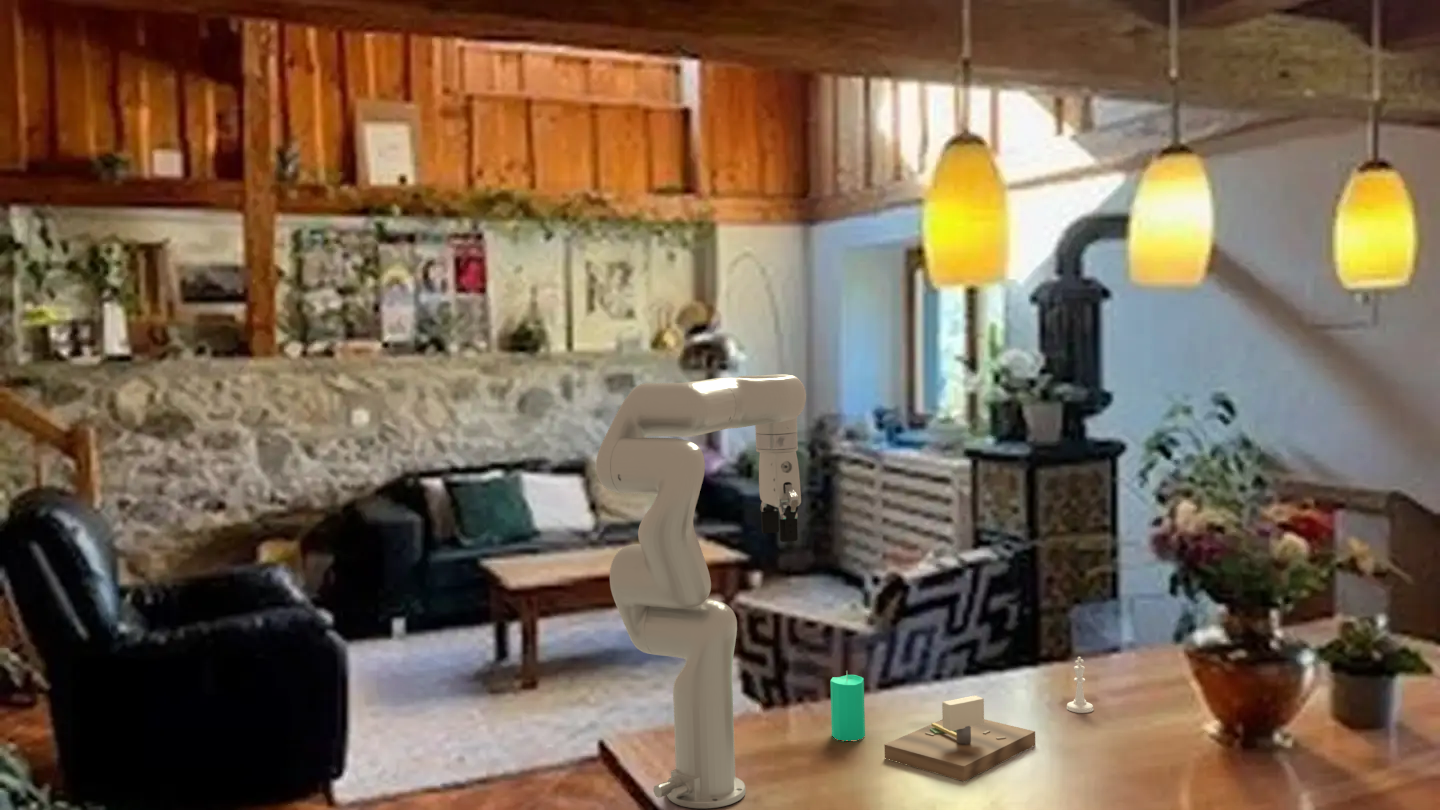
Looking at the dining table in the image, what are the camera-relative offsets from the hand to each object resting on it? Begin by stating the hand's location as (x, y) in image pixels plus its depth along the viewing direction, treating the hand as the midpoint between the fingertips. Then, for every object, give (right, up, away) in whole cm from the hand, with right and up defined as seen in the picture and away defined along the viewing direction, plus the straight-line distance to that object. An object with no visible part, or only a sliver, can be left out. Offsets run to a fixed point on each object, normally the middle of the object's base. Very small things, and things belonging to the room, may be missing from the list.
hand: (779, 536), depth 221 cm
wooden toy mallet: (+29, -33, -10) cm, 45 cm away
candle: (+12, -36, -1) cm, 38 cm away
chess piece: (+58, -34, +11) cm, 68 cm away
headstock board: (+31, -36, -10) cm, 49 cm away
